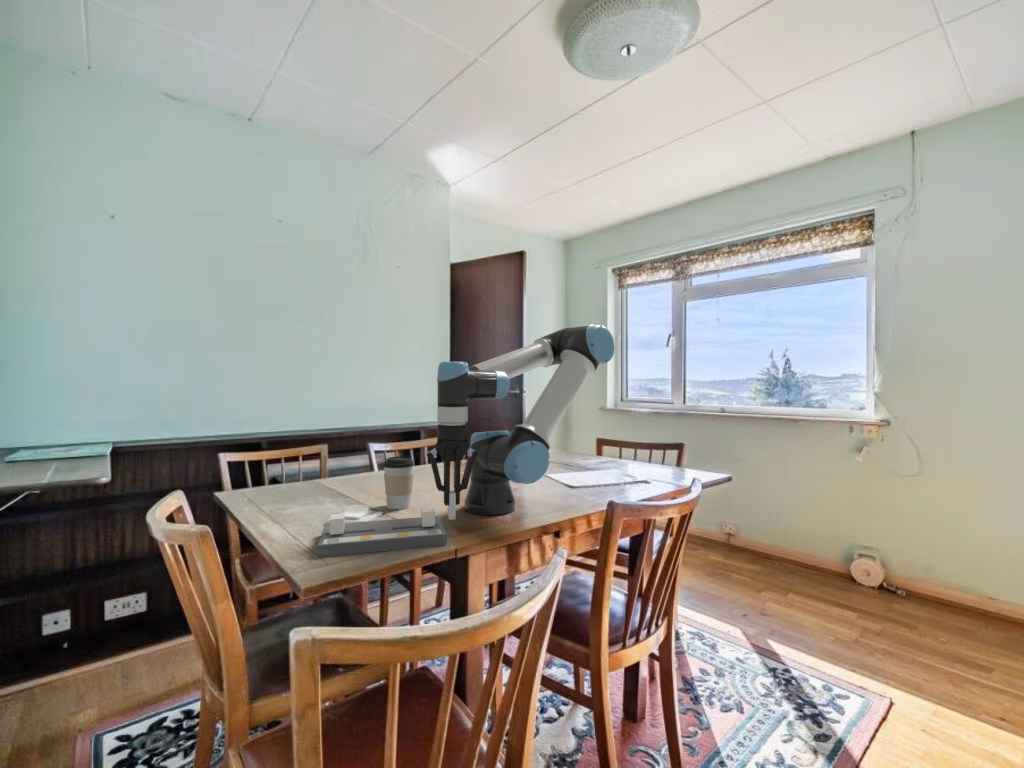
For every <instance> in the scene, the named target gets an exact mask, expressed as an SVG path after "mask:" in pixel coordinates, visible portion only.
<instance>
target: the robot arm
mask: <svg viewBox="0 0 1024 768" xmlns="http://www.w3.org/2000/svg"><path fill="white" fill-rule="evenodd" d="M614 354H615V342H614V337H613V335H612V333H611V331H610V330H609V329H608V328H607V327H606V326H604V325H602V324H588V325H582V326H572V327H565V328H561V329H559V330H557V331H554V332H551V333H549V334H547V335H544V336H542V337H539V338H536V339H535V340H534V341H533V342H532V343H531V344H530V345H527V346H524V347H523V346H522V347H521V348H518V349H515V350H512V351H510V352H506V353H504V354H501V355H499V356H496V357H493V358H490V359H488V360H484V361H481V362H480V363H479V362H478V363H476V364H474V365H471V366H469V364H468V362H467V361H441V362H440V363H439V364H438V367H437V375H436V376H437V377H436V381H437V413H436V414H437V417H436V421H437V422H438V423H439V424H438V425H437V426H436V431H437V432H436V443H435V445H434V448H433V449H431V450H429V451H426V453H425V454H426V457H427V458H428V460H429V461H430V466H431V469H432V473H433V478H434V483H435V486H436V489H437V490H438V491H440V492H443V504H444V506H445V507H446V506H447V518H448V519H449V521H450V520H456V512H457V510H456V507H457V506H459V505H460V504H461V492H462V491H463V490H467V492H466V496H465V499H464V505H463V506H464V510H465V511H466V512H468V513H470V514H474V515H481V516H495V515H496V516H497V515H503V514H508V513H511V512H514V511H515V509H516V499H515V496H514V493H513V489H512V486H511V483H510V482H513V483H515V484H524V485H530V484H531V485H532V484H534V483H536V482H538V481H539V480H541V479H542V478H543V477H544V475H545V474H546V473H547V471H548V469H549V466H550V460H549V459H551V458H550V452H549V450H551V449H550V448H551V444H550V441H549V440H550V438H551V437H552V435H553V433H554V431H555V430H556V428H557V427H558V425H559V424H560V422H561V420H562V417H563V416H564V414H565V413H566V411H567V410H568V408H569V407H570V404H571V403H572V401H573V399H574V397H575V396H576V395H577V393H578V391H579V389H580V388H581V386H582V384H583V382H584V381H585V379H586V378H587V377H590V376H593V375H594V374H595V373H596V370H597V369H598V367H599V365H604V364H607V363H609V362H610V361H611V360H612V359H613V356H614ZM555 365H558V366H557V369H556V370H555V372H553V375H552V376H551V378H550V379H549V381H548V383H547V384H546V386H545V387H544V389H543V390H542V392H541V393H540V395H539V396H538V399H537V400H536V401H535V403H534V405H533V406H532V408H531V409H530V411H529V413H528V415H527V416H526V418H524V421H523V423H522V424H521V423H520V424H516V425H514V426H513V428H512V430H511V431H509V430H494V431H493V430H492V431H491V430H490V431H482V432H481V431H480V432H478V431H477V432H473V434H471V436H470V443H469V442H468V433H469V432H468V431H469V430H468V424H467V423H468V421H469V420H468V418H469V416H468V411H469V410H468V407H469V404H468V403H469V400H497V399H503V398H505V397H506V396H507V395H508V393H509V390H510V379H513V378H515V377H518V376H520V375H524V374H525V373H528V372H530V371H532V370H535V369H537V368H540V367H542V368H548V367H549V368H550V367H551V366H555ZM437 453H438V454H439V456H440V458H441V459H442V460H443V484H442V479H441V475H440V471H439V467H438V464H437V459H436V458H438V457H437ZM466 453H467V454H466ZM466 455H467V459H466V463H465V467H464V471H463V474H462V479H461V464H462V459H463V458H464V456H466ZM451 462H453V490H451ZM469 482H470V483H469ZM468 486H469V487H468Z"/></svg>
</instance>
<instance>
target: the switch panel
mask: <svg viewBox="0 0 1024 768" xmlns="http://www.w3.org/2000/svg"><path fill="white" fill-rule="evenodd" d="M447 535H448V534H447V532H446V529H445V527H444V525H443V524H442V521H441V519H440V517H439V515H435V526H430V527H422V524H421V516H420V517H418V516H417V517H409V518H408V517H406V518H405V517H404V518H395V519H383V520H382V519H381V520H380V519H379V520H373V521H366V522H353V523H345V529H344V534H334V535H330V524H324V525H323V527H322V531H321V535H320V538H319V540H318V542H317V558H323V557H334V556H343V555H345V554H346V555H355V554H364V553H377V552H384V551H385V552H386V551H387V552H388V551H397V550H407V549H417V548H429V547H438V546H437V545H440V546H447V545H448V544H447V543H448V542H447V541H448V539H447V538H448V537H447ZM446 544H447V545H446ZM346 555H345V556H346Z"/></svg>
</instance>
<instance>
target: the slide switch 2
mask: <svg viewBox="0 0 1024 768" xmlns="http://www.w3.org/2000/svg"><path fill="white" fill-rule="evenodd" d="M435 516H436V511H435V509H434V507H433V506H432V507H421V508H420V517H421V524H422V527H430V526H435Z"/></svg>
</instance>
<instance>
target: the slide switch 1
mask: <svg viewBox="0 0 1024 768" xmlns="http://www.w3.org/2000/svg"><path fill="white" fill-rule="evenodd" d="M329 519H330V535H334V534H344V529H345V514H341V513H339V514H338V513H336V514H335V513H334V514H330V517H329Z"/></svg>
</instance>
